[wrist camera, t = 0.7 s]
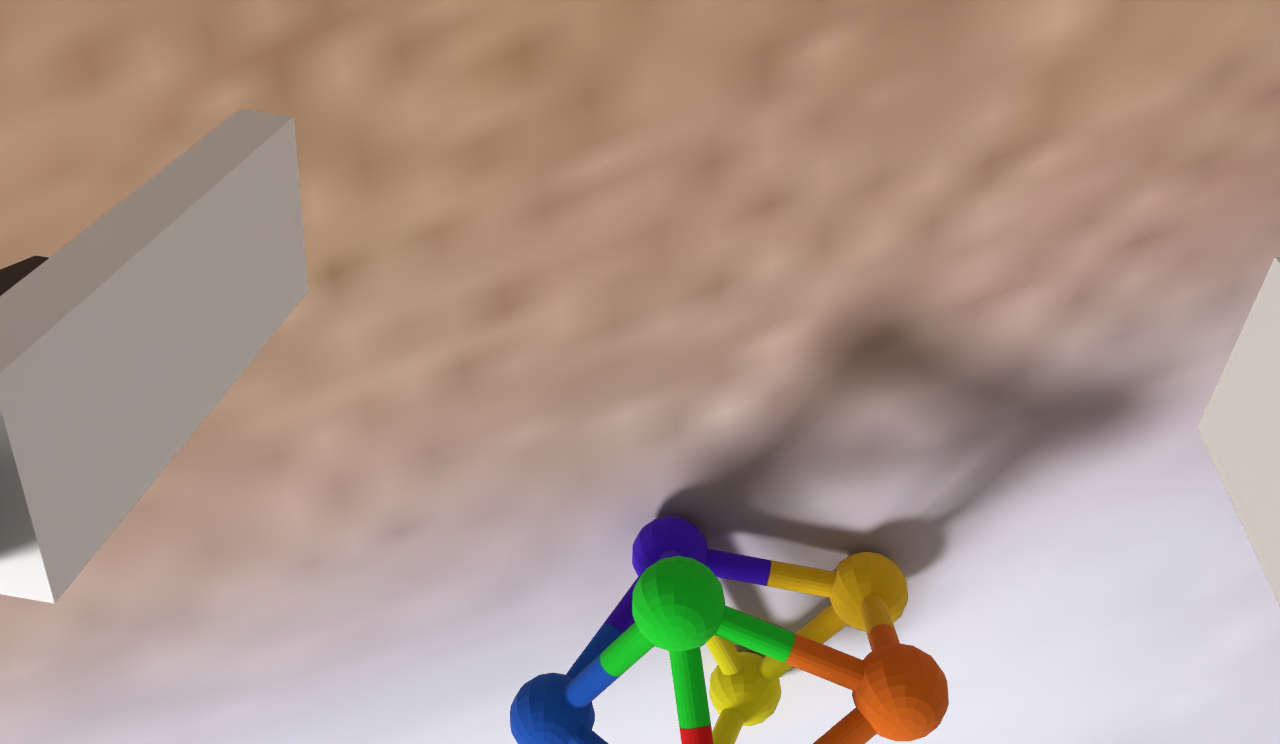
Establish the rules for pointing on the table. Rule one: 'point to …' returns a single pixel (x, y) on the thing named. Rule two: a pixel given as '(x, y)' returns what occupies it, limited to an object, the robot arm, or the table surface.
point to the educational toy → (742, 681)
